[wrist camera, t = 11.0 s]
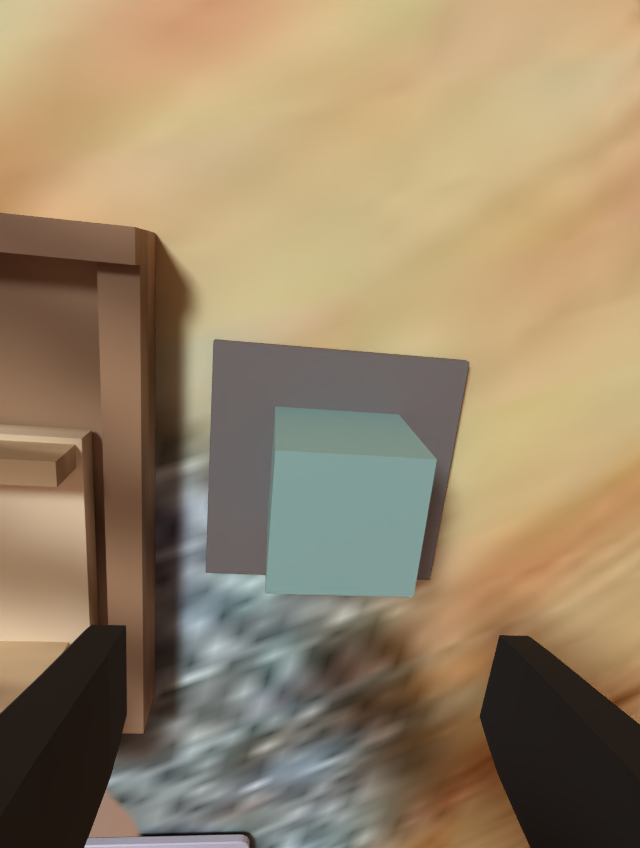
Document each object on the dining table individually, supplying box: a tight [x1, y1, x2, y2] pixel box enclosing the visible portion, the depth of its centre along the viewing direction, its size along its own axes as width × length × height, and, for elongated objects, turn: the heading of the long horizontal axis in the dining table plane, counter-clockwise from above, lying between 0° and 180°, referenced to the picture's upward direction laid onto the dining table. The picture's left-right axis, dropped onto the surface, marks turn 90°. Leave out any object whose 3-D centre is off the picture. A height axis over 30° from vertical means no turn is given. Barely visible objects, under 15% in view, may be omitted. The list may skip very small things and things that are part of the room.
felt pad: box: [206, 339, 469, 580], centre depth 19 cm, size 9×9×1 cm
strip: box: [0, 424, 99, 713], centre depth 16 cm, size 12×4×5 cm, turn 174°
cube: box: [265, 407, 437, 597], centre depth 17 cm, size 4×4×4 cm
